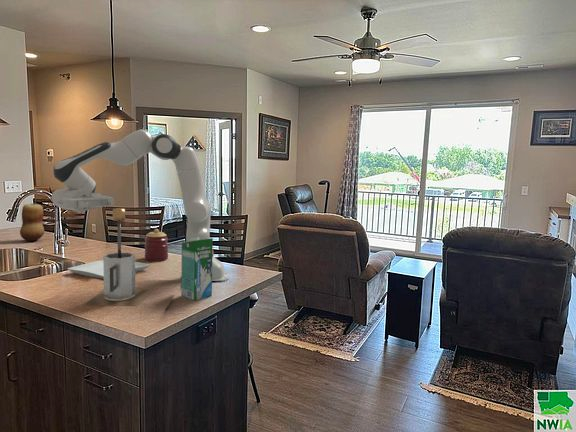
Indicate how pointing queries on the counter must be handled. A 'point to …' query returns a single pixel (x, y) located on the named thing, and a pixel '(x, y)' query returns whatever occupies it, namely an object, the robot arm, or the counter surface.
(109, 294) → the press jug
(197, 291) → the milk carton
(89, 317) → the counter surface
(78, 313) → the counter surface
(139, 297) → the brown flat square board
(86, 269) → the square plate
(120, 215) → the plunger
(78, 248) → the counter surface
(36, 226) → the butternut squash
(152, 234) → the canister
